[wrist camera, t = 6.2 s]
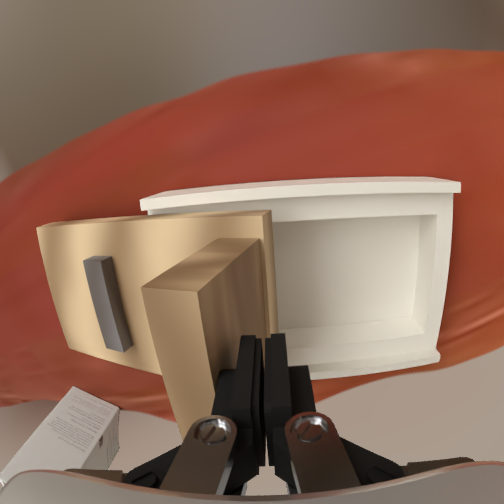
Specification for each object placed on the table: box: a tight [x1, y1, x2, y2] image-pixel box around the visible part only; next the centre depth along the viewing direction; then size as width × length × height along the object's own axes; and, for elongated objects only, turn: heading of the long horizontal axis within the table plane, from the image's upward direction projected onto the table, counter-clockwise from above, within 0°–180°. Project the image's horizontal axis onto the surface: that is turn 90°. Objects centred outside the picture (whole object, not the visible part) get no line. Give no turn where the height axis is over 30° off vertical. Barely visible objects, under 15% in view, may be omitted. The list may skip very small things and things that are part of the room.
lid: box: [36, 210, 279, 440], centre depth 16 cm, size 17×10×8 cm, turn 94°
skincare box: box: [0, 386, 120, 486], centre depth 21 cm, size 8×6×15 cm
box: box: [140, 177, 461, 380], centre depth 19 cm, size 18×12×4 cm, turn 95°
